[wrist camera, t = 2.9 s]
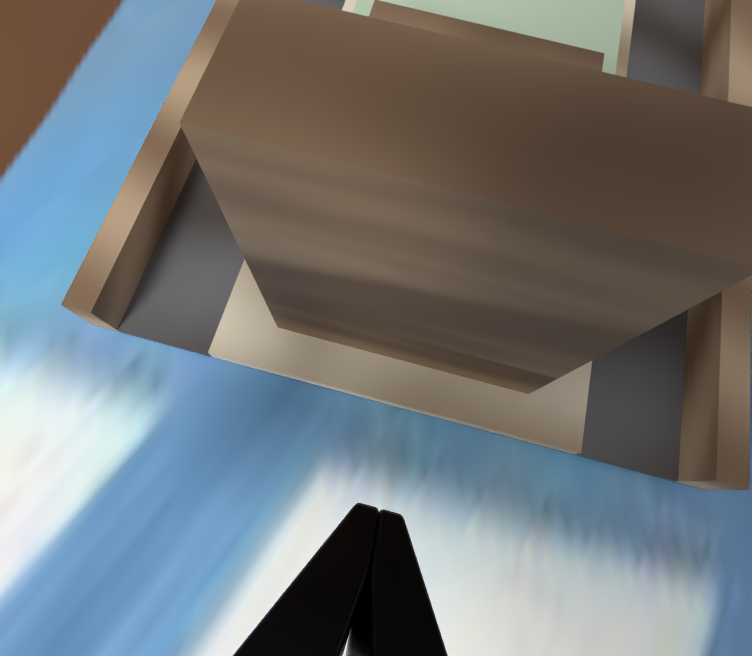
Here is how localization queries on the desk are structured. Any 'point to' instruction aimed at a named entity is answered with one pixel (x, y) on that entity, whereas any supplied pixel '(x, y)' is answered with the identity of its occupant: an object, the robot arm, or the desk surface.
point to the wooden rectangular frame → (419, 383)
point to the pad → (536, 19)
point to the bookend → (465, 188)
